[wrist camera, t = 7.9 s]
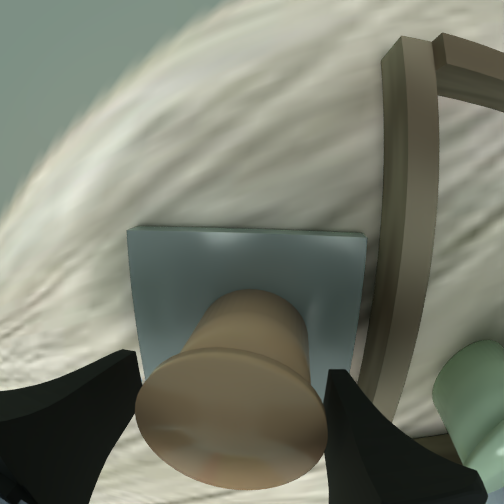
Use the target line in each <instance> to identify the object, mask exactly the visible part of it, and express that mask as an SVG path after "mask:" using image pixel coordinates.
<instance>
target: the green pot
mask: <svg viewBox="0 0 504 504" xmlns="http://www.w3.org/2000/svg"><path fill="white" fill-rule="evenodd" d="M432 398H433V402H434V405H435V407H436V409H437V411H438V413H439V415H440V417H441V419H442V421H443V423H444V425H445V427H446V429H447V431H448V433H449V435H450V437H451V440H452V442H453V444H454V446H455V448H456V450H457V453H458V455H459V457H460V459H461V462H462V464H463V466H466V467H468V468H471V469H474V470H477V472H478V473H479V475H480V477H481V479H482V481H483V483H484V486H485V488H486V491H487V493H491V492H494V491H496V490H499V489H501V488H503V487H504V348H503V347H502V346H501V345H500V344H499V343H497V342H495V341H492V340H483V341H478V342H475V343H473V344H470V345H468V346H467V347H465V348H463V349H462V350H460V351H459V352H458V353H457V354H455V355H454V356H453V357H452V358H451V359H450V360H449V361H448V362H447V364H446V365H445V366H444V367H443V369H442V370H441V372H440V373H439V375H438V377H437V379H436V381H435V384H434V387H433V393H432Z"/></svg>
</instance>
